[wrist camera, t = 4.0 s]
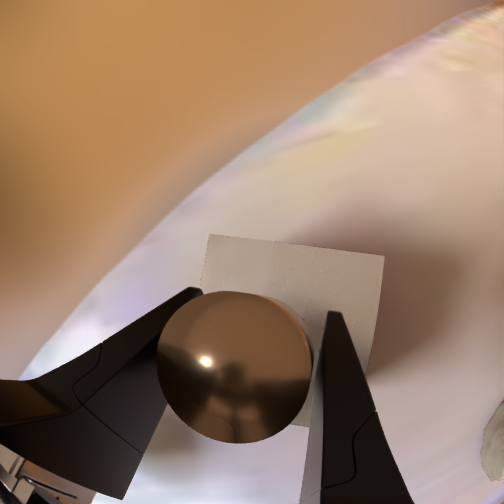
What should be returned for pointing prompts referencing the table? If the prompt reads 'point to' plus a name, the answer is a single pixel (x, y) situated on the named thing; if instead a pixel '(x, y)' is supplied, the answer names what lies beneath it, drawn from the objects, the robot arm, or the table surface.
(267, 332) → the bronze domed cylinder
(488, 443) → the ceramic sculpture
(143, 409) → the robot arm
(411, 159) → the table surface
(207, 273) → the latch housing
